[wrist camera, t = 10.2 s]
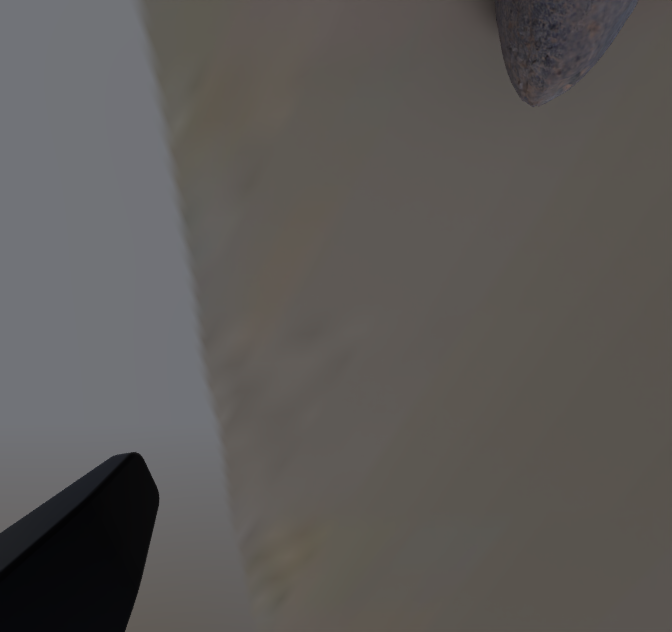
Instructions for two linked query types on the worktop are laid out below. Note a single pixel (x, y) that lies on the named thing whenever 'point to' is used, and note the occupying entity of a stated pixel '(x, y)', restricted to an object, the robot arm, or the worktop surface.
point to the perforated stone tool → (555, 41)
